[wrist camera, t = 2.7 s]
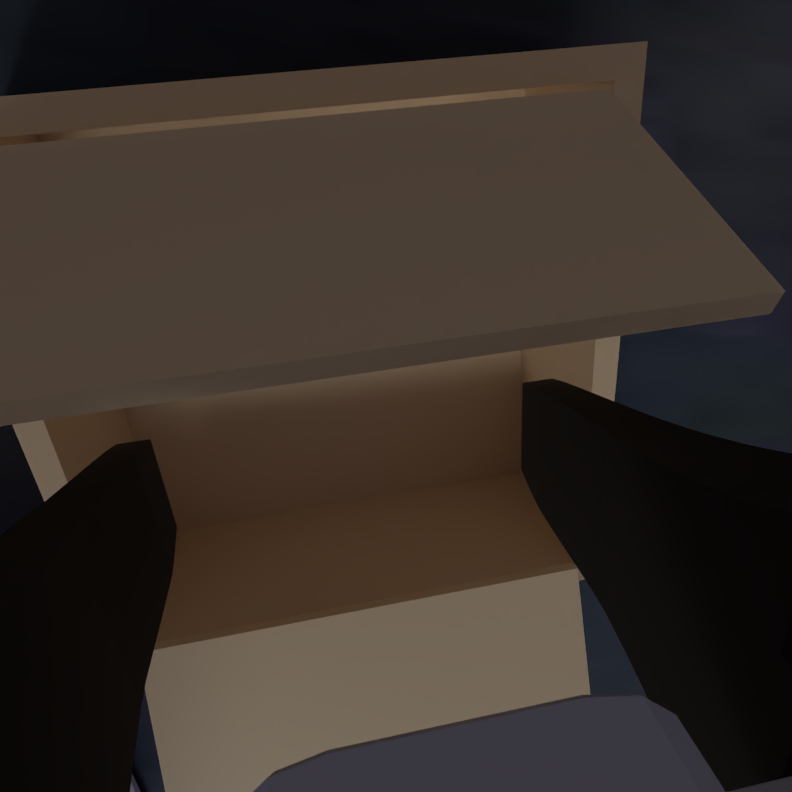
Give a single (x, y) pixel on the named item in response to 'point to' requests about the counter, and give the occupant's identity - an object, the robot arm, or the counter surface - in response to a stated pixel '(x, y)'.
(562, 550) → the cardboard box
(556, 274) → the flap
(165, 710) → the flap
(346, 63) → the counter surface
